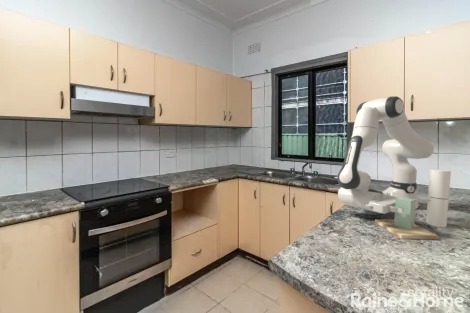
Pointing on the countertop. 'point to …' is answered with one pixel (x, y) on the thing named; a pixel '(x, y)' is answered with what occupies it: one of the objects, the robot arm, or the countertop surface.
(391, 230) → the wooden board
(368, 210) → the teal plant pot
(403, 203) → the mint green rectangular block
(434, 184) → the cylindrical container
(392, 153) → the robot arm
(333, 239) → the countertop surface
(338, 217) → the countertop surface
